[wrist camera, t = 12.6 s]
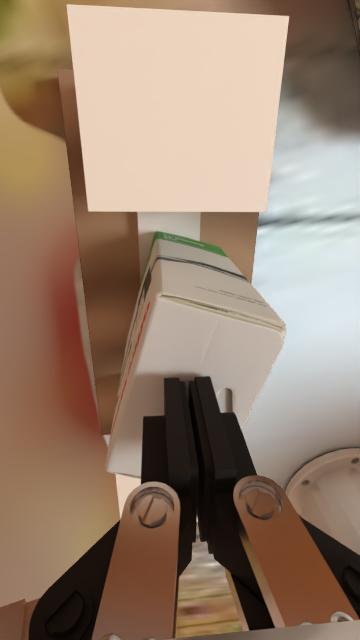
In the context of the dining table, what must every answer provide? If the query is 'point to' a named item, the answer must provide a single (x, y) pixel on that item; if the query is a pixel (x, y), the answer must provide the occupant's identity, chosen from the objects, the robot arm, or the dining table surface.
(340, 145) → the dining table surface
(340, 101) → the dining table surface
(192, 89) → the mounted modules
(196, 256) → the ink box
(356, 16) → the mobile phone
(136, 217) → the rail board
